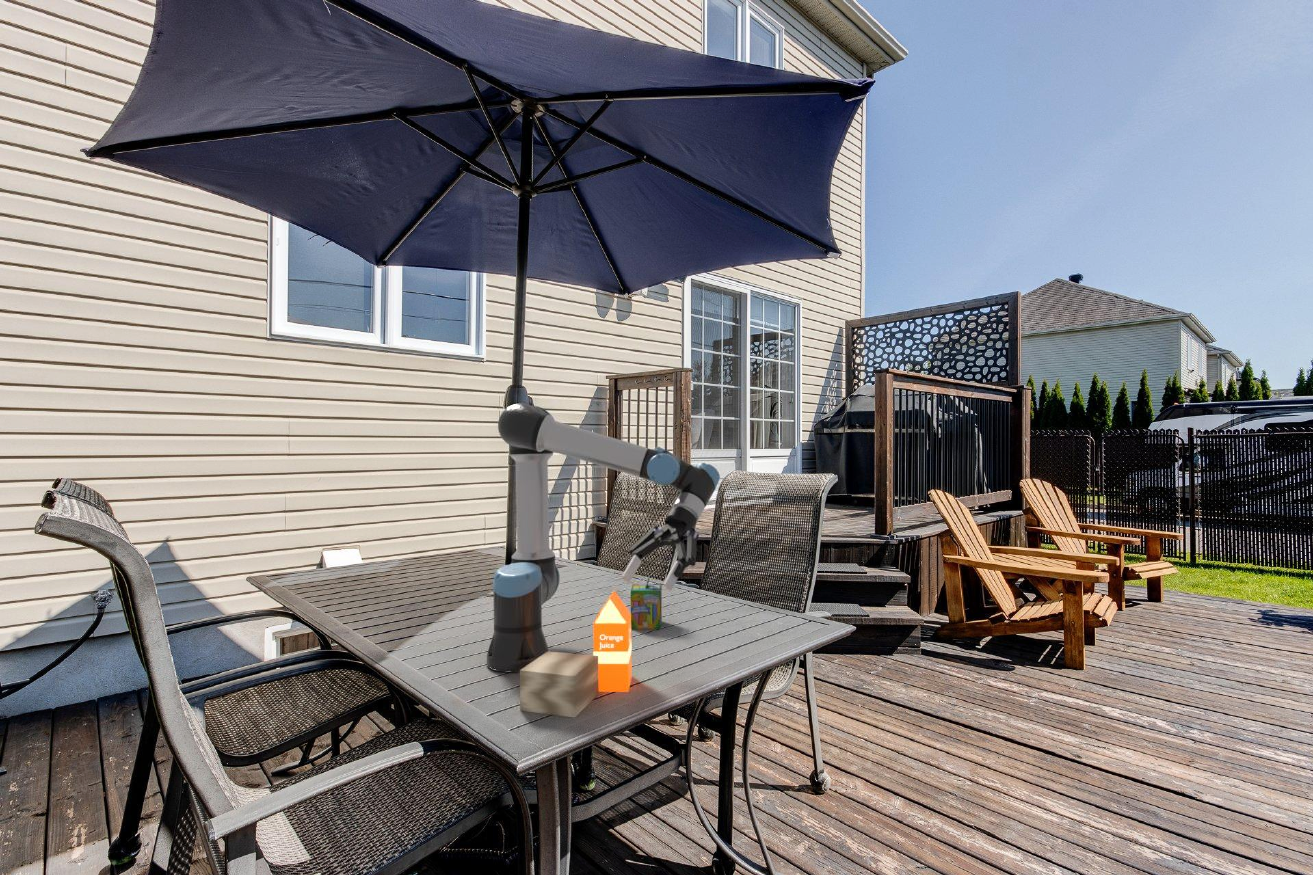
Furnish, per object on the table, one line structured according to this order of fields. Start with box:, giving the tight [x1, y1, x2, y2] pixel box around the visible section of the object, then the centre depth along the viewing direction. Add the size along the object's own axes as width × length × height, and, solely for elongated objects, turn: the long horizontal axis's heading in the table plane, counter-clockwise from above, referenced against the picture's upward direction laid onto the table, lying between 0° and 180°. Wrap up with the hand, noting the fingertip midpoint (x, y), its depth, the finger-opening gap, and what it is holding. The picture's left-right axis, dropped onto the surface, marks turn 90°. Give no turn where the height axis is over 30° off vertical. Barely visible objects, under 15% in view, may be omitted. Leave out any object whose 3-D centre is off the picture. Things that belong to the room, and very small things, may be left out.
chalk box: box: [630, 574, 663, 630], centre depth 178 cm, size 9×9×15 cm
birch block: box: [519, 650, 600, 718], centre depth 124 cm, size 12×12×8 cm
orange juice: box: [592, 589, 633, 693], centre depth 133 cm, size 8×9×20 cm
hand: (645, 583), depth 142 cm, fingers open, 13 cm apart
